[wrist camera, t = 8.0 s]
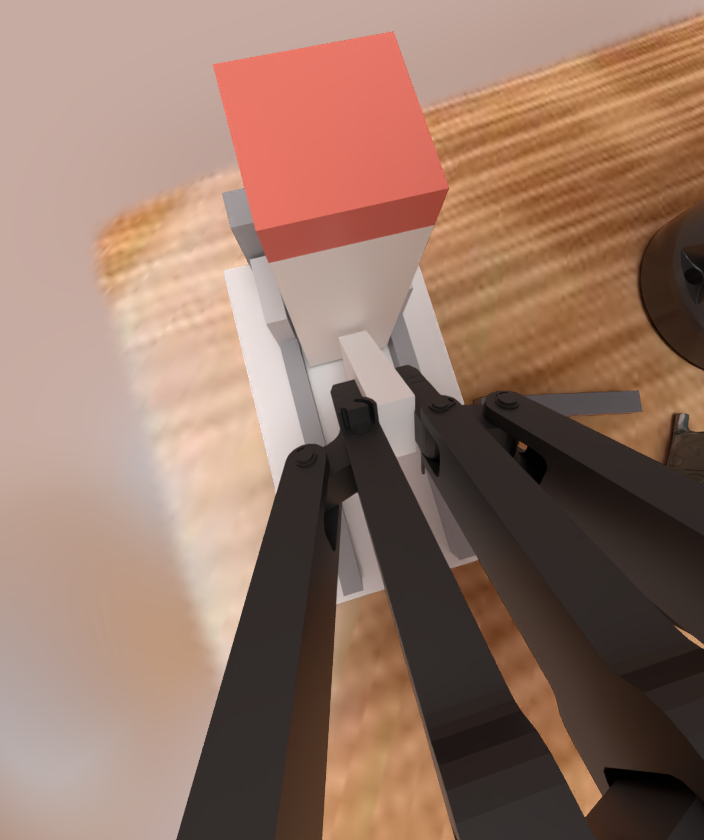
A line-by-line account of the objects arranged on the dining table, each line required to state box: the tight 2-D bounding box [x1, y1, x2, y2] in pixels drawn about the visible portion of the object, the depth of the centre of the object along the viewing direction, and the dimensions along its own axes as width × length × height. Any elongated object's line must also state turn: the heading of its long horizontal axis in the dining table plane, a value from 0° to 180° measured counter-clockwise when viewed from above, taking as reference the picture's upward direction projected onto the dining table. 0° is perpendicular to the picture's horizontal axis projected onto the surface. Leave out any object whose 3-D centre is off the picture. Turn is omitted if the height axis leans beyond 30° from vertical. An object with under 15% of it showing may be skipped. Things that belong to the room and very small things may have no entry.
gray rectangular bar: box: [473, 391, 642, 417], centre depth 20 cm, size 12×2×2 cm, turn 93°
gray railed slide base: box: [222, 188, 478, 604], centre depth 16 cm, size 24×14×8 cm, turn 15°
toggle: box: [213, 32, 449, 367], centre depth 13 cm, size 5×5×11 cm
